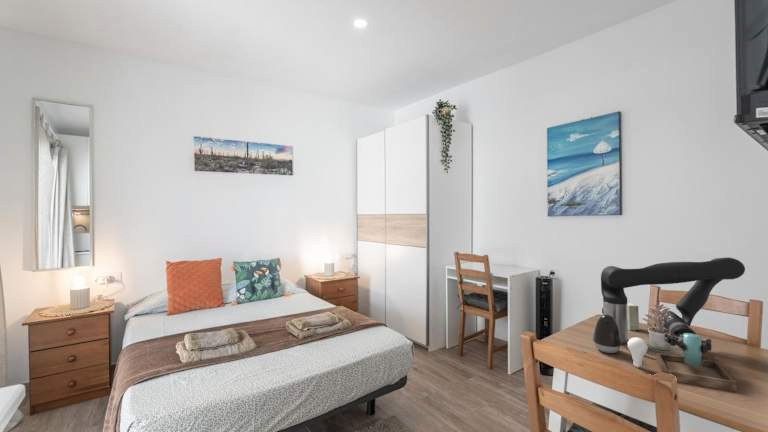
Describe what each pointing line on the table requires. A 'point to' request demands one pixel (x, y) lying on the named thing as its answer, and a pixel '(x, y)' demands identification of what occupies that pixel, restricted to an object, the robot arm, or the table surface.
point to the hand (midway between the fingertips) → (694, 348)
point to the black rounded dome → (607, 335)
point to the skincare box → (633, 316)
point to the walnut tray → (696, 372)
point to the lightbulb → (637, 350)
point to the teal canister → (692, 349)
